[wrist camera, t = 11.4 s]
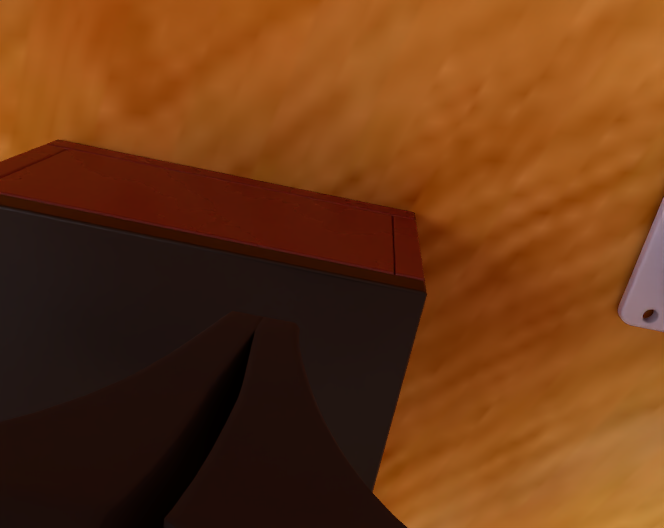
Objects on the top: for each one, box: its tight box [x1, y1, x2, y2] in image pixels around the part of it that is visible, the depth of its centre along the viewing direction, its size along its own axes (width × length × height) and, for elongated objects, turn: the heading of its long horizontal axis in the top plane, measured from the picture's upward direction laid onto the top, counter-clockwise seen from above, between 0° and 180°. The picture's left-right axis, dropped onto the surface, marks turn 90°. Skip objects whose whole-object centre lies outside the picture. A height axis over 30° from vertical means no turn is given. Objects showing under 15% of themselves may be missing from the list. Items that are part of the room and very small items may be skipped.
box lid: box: [0, 194, 427, 492], centre depth 18 cm, size 11×13×1 cm
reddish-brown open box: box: [0, 140, 425, 282], centre depth 21 cm, size 11×13×6 cm
